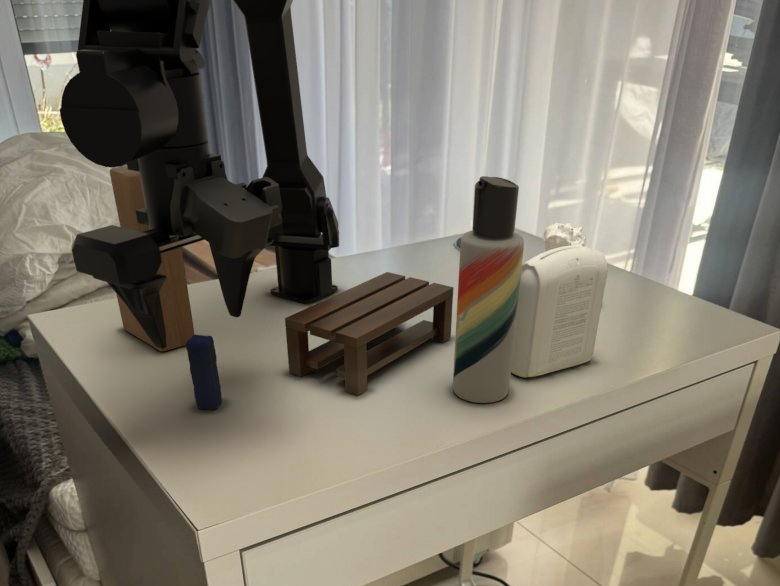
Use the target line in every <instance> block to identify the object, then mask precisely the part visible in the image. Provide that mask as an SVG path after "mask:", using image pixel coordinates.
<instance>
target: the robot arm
mask: <svg viewBox="0 0 780 586" xmlns="http://www.w3.org/2000/svg"><path fill="white" fill-rule="evenodd" d="M232 1H233V3H234V4H235V5H236V7H237V8H238V10H239V11H240V13H241V14H242V15H243V19H244V23H245V30H246V35H247V42H248V48H249V49H248V50H249V55H250V61H251V62H250V63H251V68H252V69H251V70H252V75H253V82H254V88H255V94H256V100H257V107H258V113H259V120H260V127H261V133H262V139H263V146H264V153H265V159H266V168H265V170H264V173H263V174H262V177H261V178H256V179H252V180H251V181H249V183H248V185H247V184H246V183H245V182H240V183H233V181H230V180H229V179H228V177H227V174H226V166H225V163H224V161H223V160H222V155H221V154H216V153H211V152H210V145H209V137H208V129H207V120H206V114H205V106H204V105H205V104H204V96H203V89H202V82H201V73H200V70H204V69H205V68H206V60H205V58H204V57H203V55H202V54H201V52H200V51H198V50H197V49H200V47H201V43H202V37H203V33H204V28H205V24H206V21H207V18H208V13H209V9H210V7H211V4H212V2H211V0H82V7H81V8H82V9H81V18H80V26H79V35H78V43H77V50H76V53H75V58H76V62H77V67H78V73H76V74H75V75H73V77H71V78H70V79H69V80H68V82H67V84H66V85H65V86H64V89H63V92H62V95H61V104H60V105H61V106H60V108H59V115H60V121H61V123H62V126H63V129H64V133H65V134H66V136H67V137H68V139H69V141H70V144H72V146H74V148H75V149H76V150H77V152H78V153H80V154H81V155H82V156H83V157H84V158H85V159H86V160H88V161H90V162H92V163H94V164H95V165H98V166H101V167H103V168H115V167H122V166H127V167H128V170H133V171H138V172H139V175H140V181H141V187H142V192H143V198H144V204H145V208H143V209H139V210H135V211H136V216H137V222H138V223H140V224H144V225H148V226H149V230H147V231H144V232H138V231H134V230H130V229H126V228H122V227H120V226H118V225H113V224H110V225H107V226H103V227H100V228H96V229H91V230H88V231H84V232H81V233H77V234H76V236H75V238H74V240H73V242H72V245H71V254H72V257H73V262H74V265H75V270H76V272H77V273H80V274H81V273H82V274H84V275H88V276H92V278H93V279H95V280H98V281H102V282H105V283H107V285H109V287H110V288H111V289H112V290H113V291H114V292H115V294H116V296H117V295H118V296H119V297H120V298H121V299H122V300H123V302H124V303H125V304H126V306H127V307H128V308H129V310H130V311H131V312H132V314H133V315H134V317H135V318H136V320H137V321H138V322H139V324H140V325H141V327H142V328H143V330H144V331H145V332H146V334H147V335H148V337H149V338H150V340H151V341H152V342H153V344H154V345H155V346H156V347H157V348H160V349H164V348H166V347H167V344H166V330H165V324H164V318H163V312H162V306H161V300H160V293H159V292H160V289H161V287H162V285H163V284H164V282H165V280H166V276H165V275H161V274H158V273H157V272H158V269H159V267H160V265H161V263H162V259H161V253H164V252H167V251H170V250H173V249H177V248H180V247H181V248H182V247H185V246H189V245H192V244H195V243H196V244H197V243H198V242H201V241H206V242H207V243H208V245H209V248H210V252H211V256H212V260H213V263H214V267H215V270H216V274H217V275H216V276H217V278H218V282H219V286H220V290H221V294H222V298H223V301H224V303H225V306H226V308H227V309H226V310H227V311H228V315H229V316H231V317H233V318H240V317H241V315H242V312H243V311H242V310H243V307H244V304H245V303H244V302H245V299H246V298H245V297H246V294H247V289H248V285H249V281H250V277H251V272H252V269H253V266H254V263H255V260H256V258H257V256H258V255H260V253H262V251H264V249H266V247H274V253H275V265H276V278H277V286H276V287H272V288H270V289H269V293H270V294H271V295H274V296H278V297H280V298H281V297H282V298H286V299H289V300H293V301H297V302H300V303H303V304H310V303H313V302H315V301H317V300H320V299H322V298H324V297H327V296H329V295H330V294H333V293H335V292H337V291H339V286H338V285H335V284H333V271H332V270H333V269H332V259H331V257H330V252H329V251H330V250H331V249H334V248H339V247H340V229H339V221H338V218H337V216H336V215H337V214H336V213H335V210H334V208H333V205H332V202H331V199H330V198H329V197H328V196H327V191H326V185H325V179H324V176H323V174H322V173H321V172H320V169H318V167H317V166H316V165H315V163H314V162H313V160H312V159H311V158H310V157H309V155H308V149H307V141H306V132H305V123H304V114H303V106H302V97H301V88H300V87H301V86H300V79H299V71H298V63H297V53H296V44H295V37H294V28H293V27H294V25H293V20H292V19H293V18H292V9H291V8H292V5H293V2H294V0H232ZM176 235H178V236H176ZM170 236H175V237H171V238H170Z"/></svg>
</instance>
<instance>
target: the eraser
mask: <svg viewBox="0 0 780 586" xmlns="http://www.w3.org/2000/svg"><path fill="white" fill-rule="evenodd" d="M215 347H216V346H215V340H214V338H213V336H212V335H202V334H195V335H193V336H192V338H191V339H189V340H188V341H187V342H186V345H185V349H186V351H187V360H188V363H189V372H190V375H191V382H192V385H193V397H194V400H195V404H196V406H197V409H199V410H204V411H205V410H206V411H216V410H218V409H219V407H220V406H221V405H222V400H223V398H222V389H221V382H220V381H221V380H220V375H219V370H218V364H217V362H218V361H217V359H218V358H217V357H218V356H217V353H216V348H215Z"/></svg>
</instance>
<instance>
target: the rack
mask: <svg viewBox="0 0 780 586" xmlns="http://www.w3.org/2000/svg"><path fill="white" fill-rule="evenodd" d="M453 300H454V286H450V285H447V284H446V285H445V284H441V283H437V282H433V283H430V281H429V280H424V279H421V278H420V279H419V278H414V277H413V276H412V277H410V276H409V277H407V278H406V275H402V274H398V273H393V272H389V271H386V272H383V273H381V274H379V275H376V276H375V277H373V278H370V279H368V280H366V281H363V282H361V283H359V284H357V285H355V286H353V287H350V288H347V289H346V290H343V291H342V292H339V293H337V294H335V295H333V296H330V297H328V298H325V299H323V300H321V301H319V302H317V303H315V304H313V305H310V306H309V307H306V308H304V309H302V310H300V311H298V312H295V313H292V314H290V315H289V316H286V317H284V326H285V338H286V351H287V361H288V362H287V363H288V373H289V374H290V375H293V376H297V377H299V378H302V377H303V376H305V375H307V374H309V373H310V372H311V368H312V369H315V370H319V369H321V368H323V367H325V366H327V365H329V364H330V363H332V362H335V361H336V360H339V359H340V358H342V357H343V356H344V357H343V358H344V364H342V365H340V366H338V367H337V368H336V372H335V373H336V376H337V377H340V378H343V379H344V385H345V386H344V387H345V388H344V389H345V393H349V394H351V395H354V396H360V395H361V394H363V393H365V392H367V391H368V376H369V375H371V374H373V373H374V372H377V371H378V370H380V369H382V368H383V367H385V366H386V365H387V364H389V363H391V362H393V361H394V360H396V359H398V358H400V357H401V356H403V355H406V353H408V352H410V351H411V350H413V349H415V348H417V347H419V346H420V345H421V344H423V343H425V342H427V341H428V340H430V339H431V340H432V341H435V342H439V343H443V344H444V343H446V342H448V341H449V340H451V339H452V338H451V337H452V324H453V323H452V321H453V319H452V318H453V304H454V303H453V302H454V301H453ZM430 309H432V310H433V311H432V321H429V320H426V319H423V320H421V321H419V322H417V323H415V324H413V325H412V326H410V327H408V328H406V329H404V330H402V331H401V332H398V334H396V335H394V336H392V337H390V338H388V339H387V340H385V341H383V342H381V343H379V344H378V345H375V346H374V347H372V348H370V349H369V350H367V343H369V342H371V341H373V340H375V339H376V338H379V337H380V336H382V335H384V334H386V333H388V332H389V331H391V330H393V329H395V328H396V327H398V326H401V325H402V324H404V323H406V322H407V321H410V320H411V319H414V318H415V317H417V316H419V315H421V314H423V313H424V312H426V311H428V310H430ZM309 335H310V336H314V337H317V338H320V339H324V340H327V341H326V342H324V343H322V344H320V345H318V346H316V347H314V348H313V349H311V350H310V348H309Z"/></svg>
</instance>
